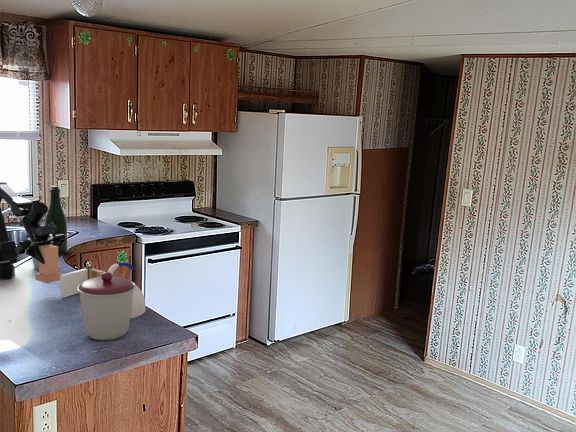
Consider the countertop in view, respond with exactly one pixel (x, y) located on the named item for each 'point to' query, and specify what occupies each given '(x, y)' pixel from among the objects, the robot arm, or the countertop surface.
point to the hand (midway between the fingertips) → (50, 262)
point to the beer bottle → (57, 217)
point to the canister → (106, 306)
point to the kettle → (138, 297)
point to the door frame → (93, 272)
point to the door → (72, 282)
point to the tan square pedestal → (48, 264)
